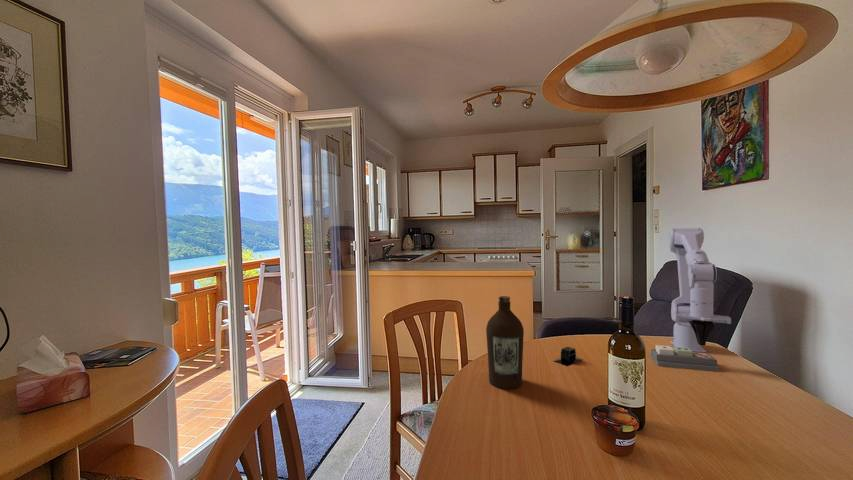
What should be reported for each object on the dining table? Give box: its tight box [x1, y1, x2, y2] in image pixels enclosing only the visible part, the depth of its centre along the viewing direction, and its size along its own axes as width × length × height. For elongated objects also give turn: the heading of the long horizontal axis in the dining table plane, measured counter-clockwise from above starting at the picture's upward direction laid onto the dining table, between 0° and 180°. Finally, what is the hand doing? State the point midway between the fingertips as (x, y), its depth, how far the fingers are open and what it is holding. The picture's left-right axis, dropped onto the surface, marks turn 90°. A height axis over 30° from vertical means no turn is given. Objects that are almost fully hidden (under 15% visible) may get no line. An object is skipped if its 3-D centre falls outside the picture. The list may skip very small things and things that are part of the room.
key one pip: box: [655, 344, 674, 356], centre depth 112 cm, size 4×4×2 cm
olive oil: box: [485, 295, 525, 390], centre depth 100 cm, size 11×11×25 cm
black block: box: [552, 346, 584, 367], centre depth 115 cm, size 12×7×5 cm, turn 124°
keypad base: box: [649, 348, 720, 372], centre depth 111 cm, size 8×16×3 cm, turn 72°
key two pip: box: [672, 345, 694, 357], centre depth 111 cm, size 4×4×2 cm
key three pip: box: [692, 351, 712, 359], centre depth 109 cm, size 4×4×2 cm
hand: (701, 344), depth 109 cm, fingers closed
